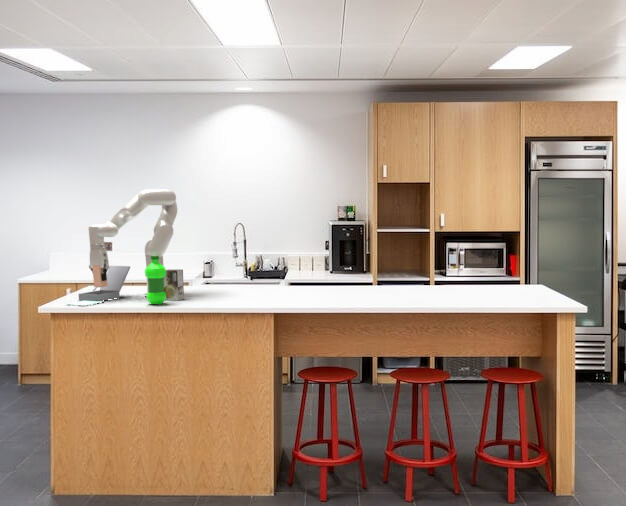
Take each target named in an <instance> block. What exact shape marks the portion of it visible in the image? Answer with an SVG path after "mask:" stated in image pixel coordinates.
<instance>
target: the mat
mask: <svg viewBox="0 0 626 506" xmlns="http://www.w3.org/2000/svg"><path fill="white" fill-rule="evenodd" d="M100 302H103V301H85V300H84V301H79V300H78V301H74V302H69V303H66V304H67V305H66V306H71V305H78V306H77V307H84V306H85V307H87V306H86V305H90V306H92V305H91V304H95V305H97V304H96V303H100Z"/></svg>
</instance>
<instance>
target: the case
mask: <svg viewBox="0 0 626 506" xmlns="http://www.w3.org/2000/svg"><path fill="white" fill-rule="evenodd" d="M109 266H110V268H109V269H108V271H107V284H108V286H105V287H99V288H100V289H99V290H97V288H98V287H94V288H93V290H91V291H88V292H81V293H78V301H79V300H80V301H84V300H85V301H103V300H108V299H114V298H119V297H120V294H121V293H120V292H121V290H122V288H123V285H124V283H125V282H126V279H127V276H128V274H129V272H130V269H131V266H128V265H109Z"/></svg>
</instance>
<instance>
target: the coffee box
mask: <svg viewBox="0 0 626 506" xmlns="http://www.w3.org/2000/svg"><path fill="white" fill-rule="evenodd" d="M184 289H185V288H184V270H183V269H174V268H173V269H166V275H165V276H164V292H165V294H166V299H165V301H181V300H184V299H185V290H184Z"/></svg>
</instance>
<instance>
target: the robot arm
mask: <svg viewBox="0 0 626 506" xmlns="http://www.w3.org/2000/svg"><path fill="white" fill-rule="evenodd" d="M176 195H177V194H176V193H175V192H174V191H173V190H171V189H143V190H141V191H139V192H138V193H137V194H136V195H135V196H133V198H132V199H130V201H128V202H127V203H126V204H124V206H123V207H122V208H120V209H119V211H117V212H116V214H114V215H113V216H112V217H111V218H110V219H108V221H107V222H106V223H105V224H91V225H89V226H88V238H89V248H90V251H89V265H88V268H89V270H90V271H91V272H92V274H93V268H92V265H99V266H100V268H101V272H102V274H101V278H102V281H105V280H107V277H106V273H107V272H108V270H109V268H110V266H111V265H110V263H109V261H110V260H109V256H108V252H107V249H106V245H105V238H114V237H116V236H117V235H118V234H119V230H120V229H121V228H123V226H125V225H126V224H127V223H129V222H131V221H133V220H134V219H136V217H138V216H139V215H140V214H141V213H142V212H143V211H144V210H145V209H146V208H147V207H148V206H161V211H160V214H159V217H158V219H157V221H156V223H155V225H154V228H153V236H152V238H151V239H149V240H148V241H147V242H146V243H145V246H144V255H145V269H146V268H147V267H148V266H149V265H150V264H151V263H152V260H151V256H159V259H158V262H159V263H160V264H161V265H162V266H164V254H166V252H167V249H168V246H169V245H170V242H171V240H172V237H173V236H174V228H173V225H174V222H175V220H176V217H177V215H178V204H177V201H176V200H177V196H176ZM105 266H106V267H105ZM164 267H165V266H164ZM103 269H104V270H103ZM147 294H148V278H147V277H146V293H144V294H143V295H146V296H147Z"/></svg>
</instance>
